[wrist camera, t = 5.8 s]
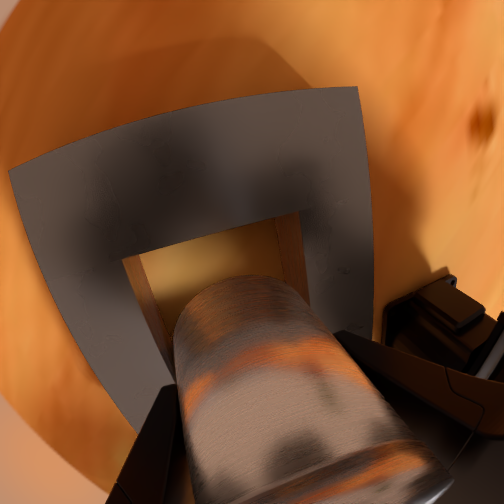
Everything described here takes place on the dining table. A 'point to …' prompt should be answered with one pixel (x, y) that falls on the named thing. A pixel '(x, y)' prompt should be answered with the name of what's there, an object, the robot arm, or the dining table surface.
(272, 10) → the dining table surface
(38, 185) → the jig
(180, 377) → the grey cylinder
